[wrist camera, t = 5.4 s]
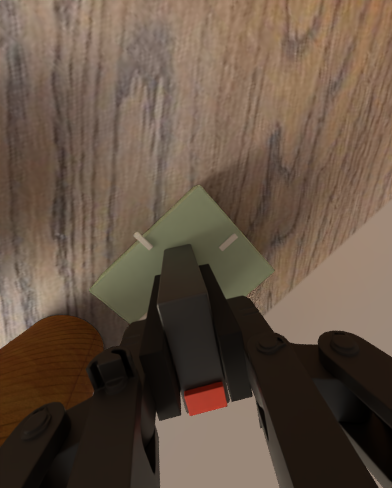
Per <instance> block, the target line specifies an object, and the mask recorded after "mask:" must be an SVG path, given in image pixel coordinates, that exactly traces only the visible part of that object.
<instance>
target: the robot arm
mask: <svg viewBox="0 0 392 488" xmlns="http://www.w3.org/2000/svg"><path fill="white" fill-rule="evenodd" d="M199 269H200V272H201V275H202V278H203V280H204V283H205V286H206V289H207V292H208V296H209V301H210V306H211V311H212V316H213V321H214V326H215V331H216V336H217V340H218V345H219V350H220V355H221V360H222V365H223V370H224V375H225V379H226V383H227V386H228V390H229V394H230V397H231V400H232V402H233V401H237V400H241V399H245V398H249V397H252V391H253V393H254V396H255V398H256V404H257V410H258V416H259V422H260V428H263V431H264V435H265V438H266V442H267V445H268V449H269V452H270V456H271V459H272V463H273V466H274V470H275V473H276V476H277V480H278V484H279V487H280V488H378V486H377V484H376V483H375V481H374V479H373V478H372V476H371V475H370V473H369V471H370V472H371V473H372V475H374V477H375V478H376V479H377V481H378V482H379V483H380V484H381V485H382V487H383V488H392V357H391V356H389V355H388V354H386V353H385V352H383V351H381V350H380V349H378V348H377V347H375V346H374V345H372V344H370V343H369V342H367V341H366V340H364V339H362V338H361V337H359V336H357V335H354V334H352V333H348V332H344V331H329V332H325V333H323V334H322V335H321V336H320V337H319V339H318V345H306V344H305V345H304V344H294V343H290V342H289V341H288V340H287V339H286V338H285V337H284V336H282V335H280V334H278V333H274V332H273V330H272V329H271V328H270V326H269V325H268V323H267V322H266V320H265V319H264V318H263V316H262V315H261V313H260V312H259V311H258V309H257V308H256V307H255V305H254V304H253V302H252V301H251V299H249V298H247V297H245V296H243V295H242V296H237V297H233V298H229V299H226V298H225V296H224V294H223V292H222V290H221V288H220V286H219V284H218V282H217V280H216V278H215V275H214V273H213V271H212V269H211V267H210V265H209V263H208V264H204V265H199ZM160 276H161V274H160V275H155V278H154V283H153V287H152V292H151V297H150V302H149V307H148V312H147V317H146V319H144V320H139V321H135V322H132V323H131V324H130V325H129V326H128V327H127V329H126V330H125V332H124V335H123V338H122V339H123V340H122V341H121V344H120V346H115V347H111V348H109V349H106V350H104V351H102V352H101V353H99V354H98V355H96V356H95V357H94V358H93V359H92V360H91V361H90V362H89V364H88V366H87V367H86V372H87V374H88V377H89V379H90V381H91V384H92V386H93V389H94V394H93V396H92V397H90V398H88V399H87V400H85V401H83V402H81V403H79V404H77V405H75V406H73V407H72V408H70V409H68V410H66V409H65V407H64V406H63V404H62V403H61V402H51V403H48V404H44V405H43V406H41V407H39V408H37V409H35V410H34V411H33V412H31V413H30V414H29V415H28V416H26V417H25V418H24V419H23V420H22V421H21V422H20V423H19V424H18V425H17V427H16V428H15V429H14V430H13V431H12V433H11V434H10V435H9V437H8V438H7V439H6V440H5V442H4V443H3V444H2V446H1V447H0V488H160V471H159V437H158V433H157V429H156V426H155V417H156V412H157V415H158V418H159V421H160V420H165V419H168V418H173V417H176V416H180V415H181V400H180V388H179V384H178V381H177V377H176V373H175V370H174V366H173V363H172V359H171V355H170V352H169V348H168V345H167V341H166V337H165V334H164V330H163V327H162V323H161V320H160V316H159V312H158V309H157V298H158V291H159V284H160ZM251 388H252V390H251ZM366 467H367V468H366ZM367 469H368V470H369V471H368V470H367Z"/></svg>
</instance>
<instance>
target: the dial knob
mask: <svg viewBox="0 0 392 488" xmlns="http://www.w3.org/2000/svg"><path fill="white" fill-rule="evenodd" d="M157 309H158V312H159V316H160V320H161V323H162V327H163V330H164V334H165V337H166V341H167V345H168V348H169V352H170V355H171V359H172V363H173V366H174V370H175V373H176V377H177V381H178V384H179V388H180V391H181V395H182V399H183V402H184V406H185V409H186V412H187V413H189V415H190V416H193V415H196V414H200V413H204V412H208V411H211V410H215V409H219V408H223V407H227V403H229V401H230V399H229V394H228V389H227V384H226V379H225V375H224V370H223V365H222V360H221V355H220V350H219V345H218V340H217V336H216V331H215V326H214V321H213V316H212V311H211V306H210V301H209V296H208V292H207V289H206V286H205V283H204V280H203V278H202V275H201V272H200V269H199V266H198V263H197V260H196V257H195V254H194V251H193V249H192V246H191V244H187V245H182V246H178V247H173V248H169V249H165V250H164V255H163V262H162V269H161V276H160V284H159V291H158V298H157Z"/></svg>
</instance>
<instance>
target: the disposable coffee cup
mask: <svg viewBox="0 0 392 488" xmlns="http://www.w3.org/2000/svg"><path fill="white" fill-rule="evenodd" d="M102 351H104V350H103V341H102V338H101V336H100V334H99V333H98V332H97V331H96V329H95V328H94V327H93V326H92V325H90V324H89V323H88V322H86V321H84V320H82V319H80V318H77V317H74V316H68V315H55V316H50V317H47V318H44V319H42V320H40V321H38V322H37V323H35V324H34V325H33V326H31V327H30V328H29V329H27V330H26V331H25V332H23V333H22V334H21V335H19V336H18V337H16V338H15V339H14V340H12V341H11V342H9V343H8V344H7V345H5V346H4V347H3V348H1V349H0V447H1V446H2V444H3V443H4V442H5V440H6V439H7V438H8V437H9V435H10V434H11V433H12V431H13V430H14V429H15V428H16V427H17V425H18V424H19V423H20V422H21V421H22V420H23V419H24V418H25V417H26V416H28V415H29V414H30V413H31V412H33V411H34V410H35V409H37V408H39V407H41V406H43V405H44V404H48V403H51V402H61V403H62V404H63V406H64V407H65V409H66V410H68V409H70V408H72V407H73V406H75V405H77V404H79V403H81V402H83V401H85V400H87V399H88V398H90V397H92V396H93V394H92V393H93V392H94V389H93V386H92V384H91V381H90V379H89V377H88V374H87V372H86V367H87V366H88V364H89V362H90V361H91V360H92V359H93V358H94V357H95V356H96V355H98V354H99V353H101V352H102Z"/></svg>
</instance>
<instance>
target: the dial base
mask: <svg viewBox="0 0 392 488" xmlns="http://www.w3.org/2000/svg"><path fill="white" fill-rule="evenodd" d="M133 236H134V237H135V238H136V239H137V241H136V242H135V243H134V244H133V245H132V246H131V247H130V248H129V249H128V250H127V251H126V252H125V253H124V254H123V255H122V256H121V257H120V258H119V259H117V260H116V261H115V262H114V263H113V264H112V265H111V266H110V267H109V268H108V269H107V270H106V271H105V272H104V273H103V274H102V275H101V276H100V277H99V279H98V280H97V281H96V282H95V283H94V285H93V286H92V287H91V288H90V289H89V291H90V292H91V293H92V294H93V295H94V296H96V297H97V298H98V299H99V300H101V301H102V302H103V303H104V304H106V305H107V306H108V307H109V308H111V309H112V310H113V311H114V312H115V313H117V314H118V315H119V316H120V317H122V318H123V319H124V320H125V321H127V322H128V323H129V324H131V323H132V322H135V321H139V320H144V319H146V317H147V312H148V307H149V302H150V297H151V292H152V287H153V283H154V278H155V275H160V274H161V269H162V262H163V255H164V250H165V249H169V248H173V247H178V246H182V245H187V244H191V246H192V249H193V251H194V254H195V257H196V260H197V263H198V266H199V265H204V264H208V263H209V265H210V267H211V269H212V271H213V273H214V275H215V278H216V280H217V282H218V284H219V286H220V288H221V290H222V292H223V294H224V296H225V298H226V299H229V298H233V297H237V296H242V295H243V296H245V297H246V296H247V295H248V294H249V293H250V292H251V291H252V290H254V289H255V288H256V287H257V286H258V285H259V284H261V283H262V282H263V281H264V280H265V279H266V278H267V277H269V276H270V275H271V274H272V273H273V272H274V271H275V270H274V269H273V268H272V267H271V265H270V264H269V263H268V262H267V261H266V260H265V259H264V257H263V256H262V255H261V254H260V253H259V252H258V250H257V249H256V248H255V247H254V246H253V245H252V244H251V242H250V241H249V240H248V239H247V238H246V237H245V236H244V234H243V233H242V232H241V231H240V230H239V229H238V228H237V226H236V225H235V224H234V223H233V222H232V221H231V220H230V218H229V217H228V216H227V215H226V214H225V213H224V212H223V210H222V209H221V208H220V207H219V206H218V205H217V204H216V202H215V201H214V200H213V199H212V198H211V197H210V196H209V194H208V193H207V192H206V191H205V190H204V189H203V187H202V186H201V185H197V186H194V187H193V188H192V189H191V190H190V191H189V192H188V193H187V194H186V195H185V196H183V197H182V198H181V199H180V200H179V201H178V202H177V203H176V204H175V205H174V206H173V207H172V208H171V209H170V210H169V211H168V212H167V213H166V214H165V215H164V216H163V217H161V218H160V219H159V220H158V221H157V222H156V223H155V224H154V225H153V226H152V227H151V228H150V229H149V230H148V231H147V232H146V233H145V234H144V235H143V236H142V235H141V234H140V233H139V232H138V231H136V232H135V233H134V234H133Z"/></svg>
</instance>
